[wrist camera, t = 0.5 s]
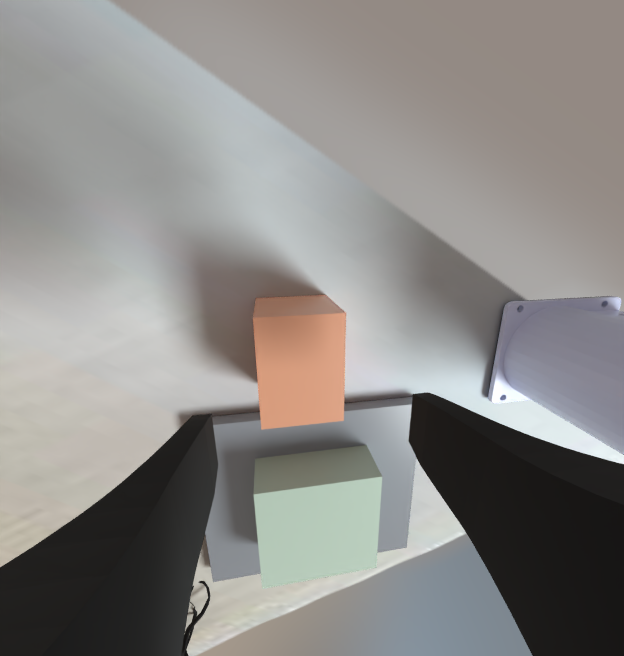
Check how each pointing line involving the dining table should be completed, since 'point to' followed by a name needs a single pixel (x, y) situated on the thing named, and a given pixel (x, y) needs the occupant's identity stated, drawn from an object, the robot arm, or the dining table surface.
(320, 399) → the top brick
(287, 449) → the tower base
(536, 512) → the robot arm
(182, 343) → the dining table surface
